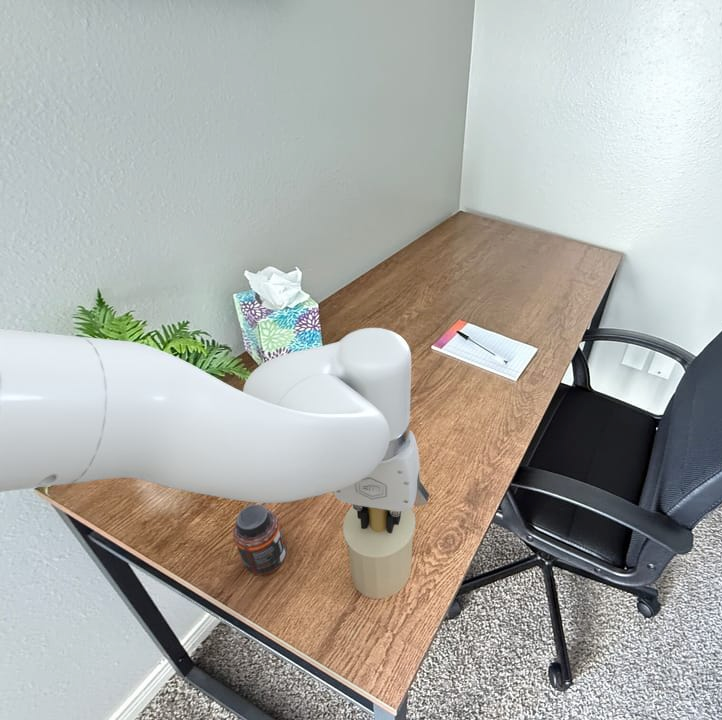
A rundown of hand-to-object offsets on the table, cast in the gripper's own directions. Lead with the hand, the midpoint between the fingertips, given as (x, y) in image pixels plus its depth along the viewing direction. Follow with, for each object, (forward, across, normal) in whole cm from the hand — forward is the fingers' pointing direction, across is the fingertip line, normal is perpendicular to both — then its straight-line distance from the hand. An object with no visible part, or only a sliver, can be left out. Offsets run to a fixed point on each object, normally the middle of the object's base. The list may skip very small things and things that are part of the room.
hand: (379, 520), depth 64 cm
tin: (+13, 0, 0) cm, 13 cm away
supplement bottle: (+14, -18, -1) cm, 22 cm away
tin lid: (+1, 0, 0) cm, 1 cm away
